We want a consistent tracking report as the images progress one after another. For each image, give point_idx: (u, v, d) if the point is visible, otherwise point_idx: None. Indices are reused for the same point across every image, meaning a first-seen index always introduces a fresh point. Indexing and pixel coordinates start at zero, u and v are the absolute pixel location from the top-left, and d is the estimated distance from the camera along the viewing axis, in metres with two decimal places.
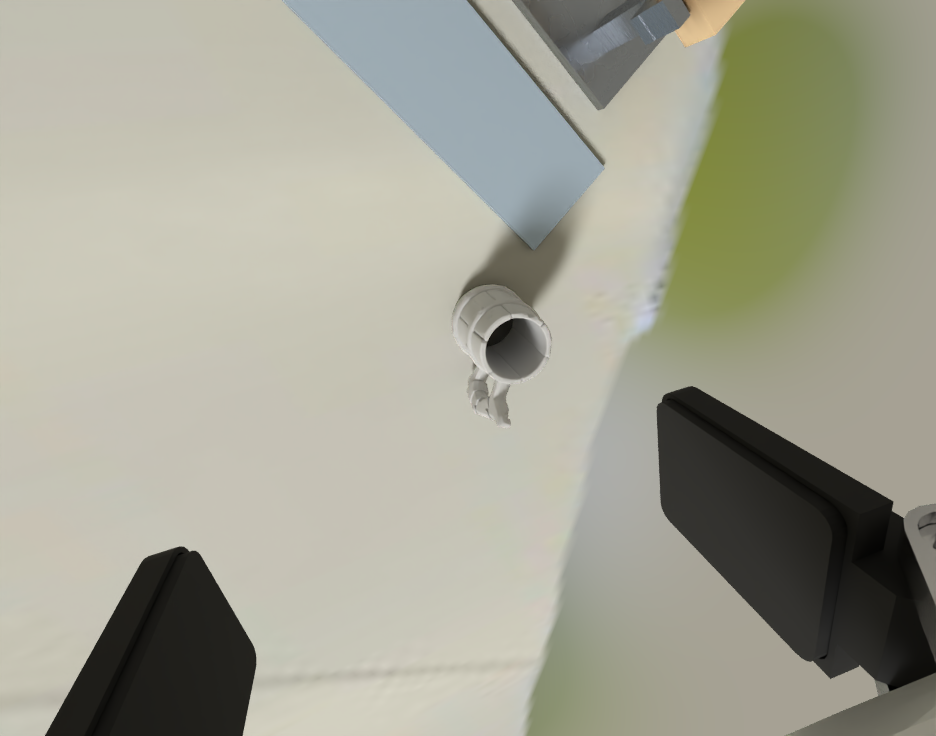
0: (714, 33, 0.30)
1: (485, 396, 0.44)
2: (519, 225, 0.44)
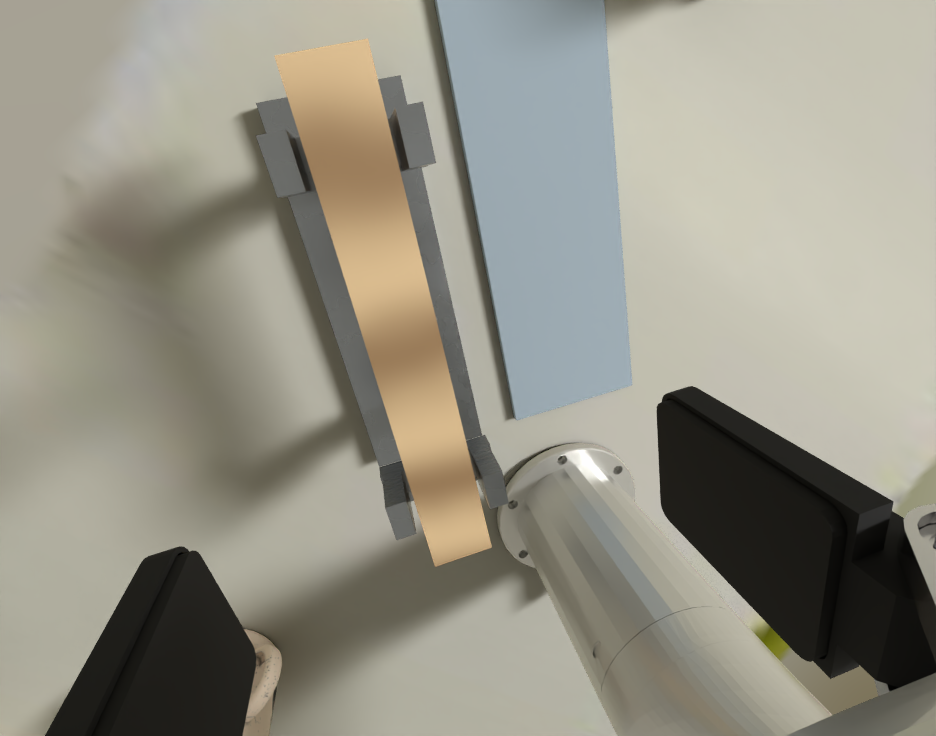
0: (368, 42, 0.15)
1: None
2: (595, 15, 0.28)
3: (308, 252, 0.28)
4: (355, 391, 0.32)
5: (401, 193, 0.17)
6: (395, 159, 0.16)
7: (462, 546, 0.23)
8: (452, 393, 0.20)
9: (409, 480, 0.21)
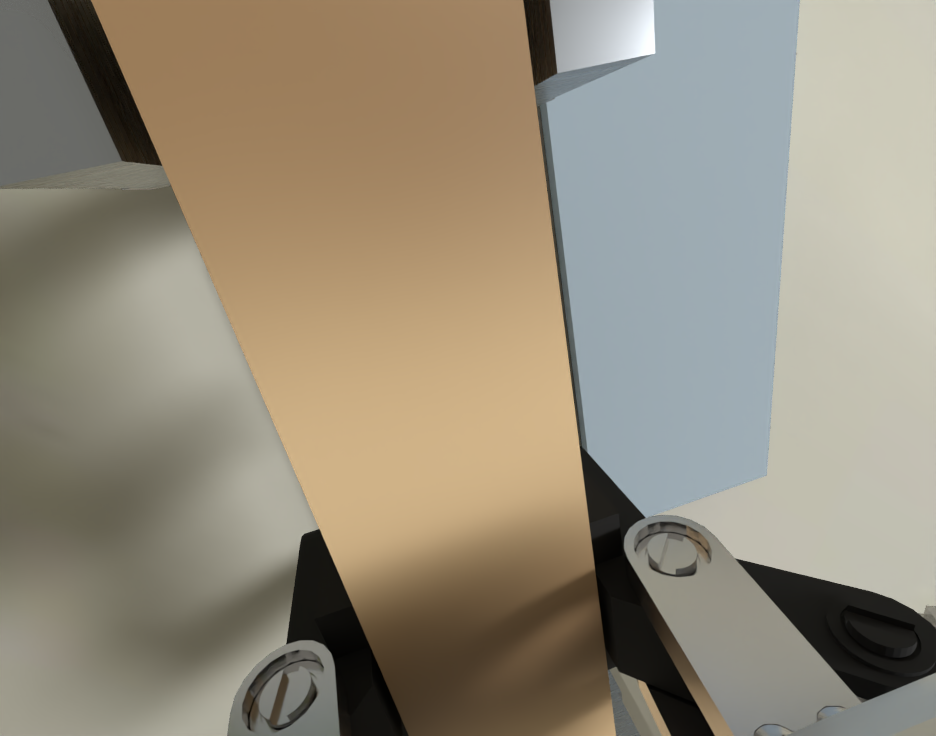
0: None
1: None
2: None
3: None
4: None
5: (528, 172, 0.04)
6: (518, 18, 0.04)
7: None
8: (609, 722, 0.07)
9: None
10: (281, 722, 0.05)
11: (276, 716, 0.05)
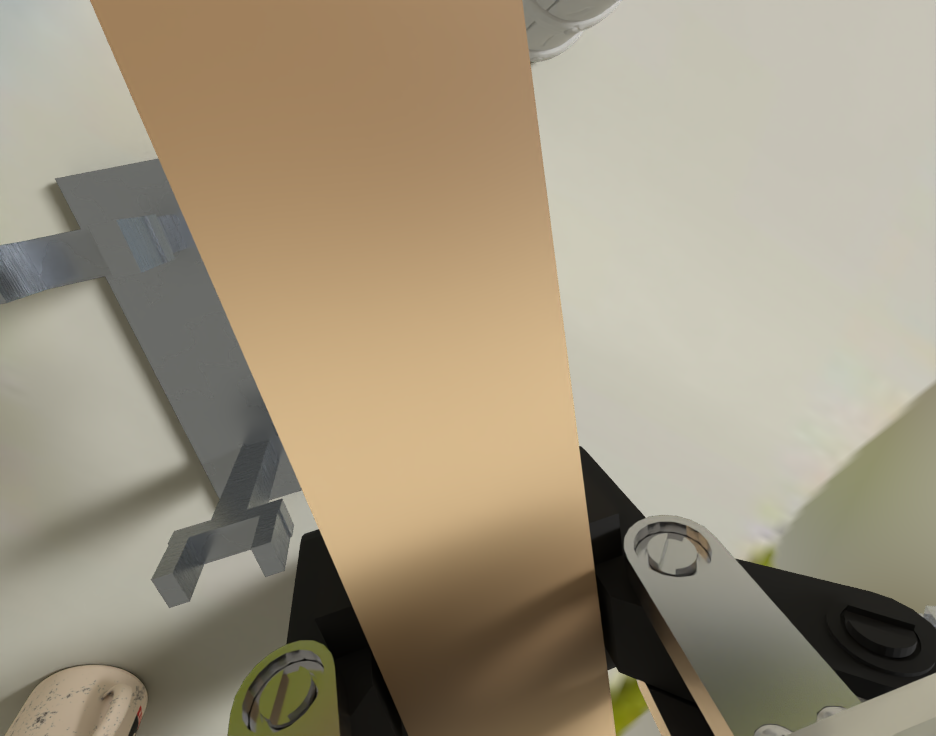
0: None
1: None
2: None
3: (127, 315, 0.29)
4: (192, 443, 0.33)
5: (526, 165, 0.04)
6: (516, 9, 0.04)
7: None
8: (609, 720, 0.07)
9: None
10: (281, 722, 0.05)
11: (276, 716, 0.05)
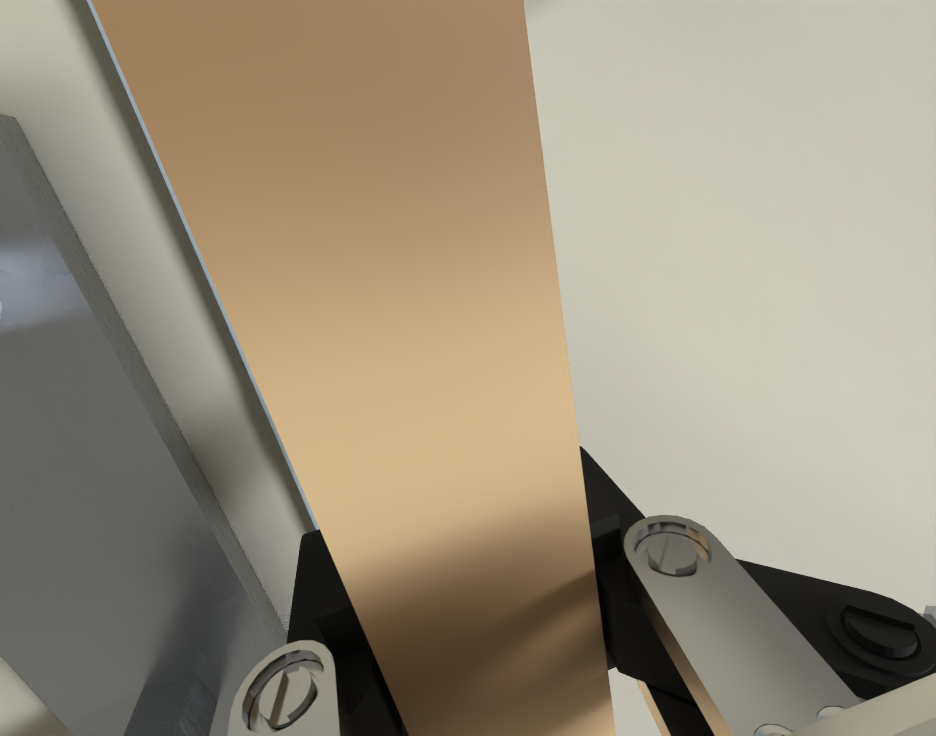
0: None
1: None
2: None
3: None
4: (41, 696, 0.17)
5: (526, 160, 0.04)
6: (516, 2, 0.04)
7: None
8: (609, 718, 0.07)
9: None
10: (281, 722, 0.05)
11: (276, 716, 0.05)
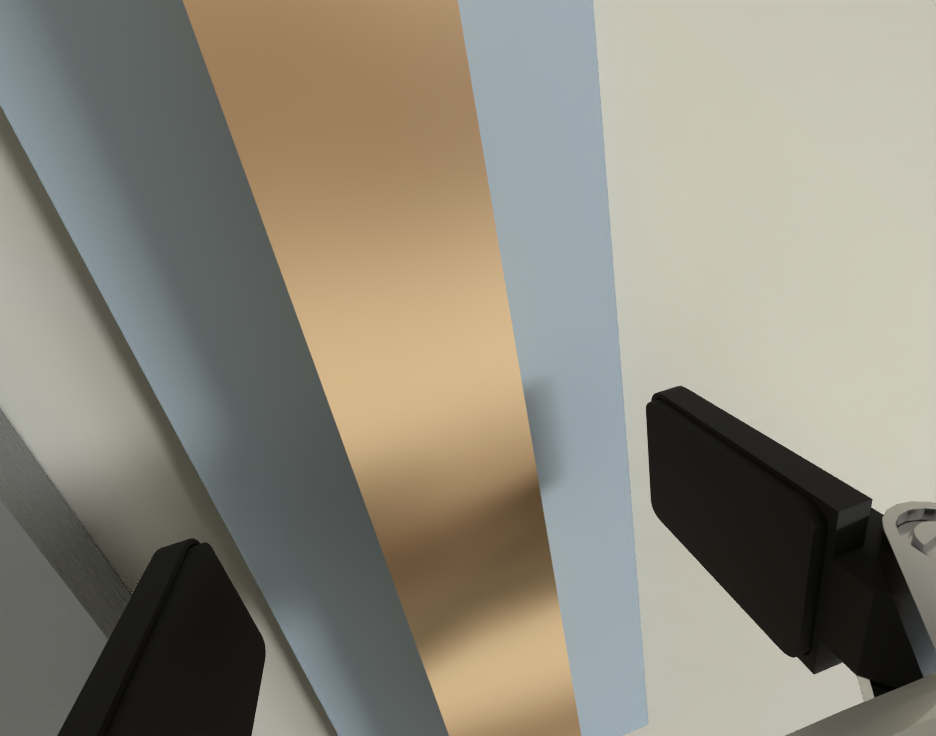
0: None
1: None
2: None
3: None
4: None
5: (475, 173, 0.06)
6: (465, 75, 0.06)
7: None
8: (554, 599, 0.10)
9: None
10: None
11: None
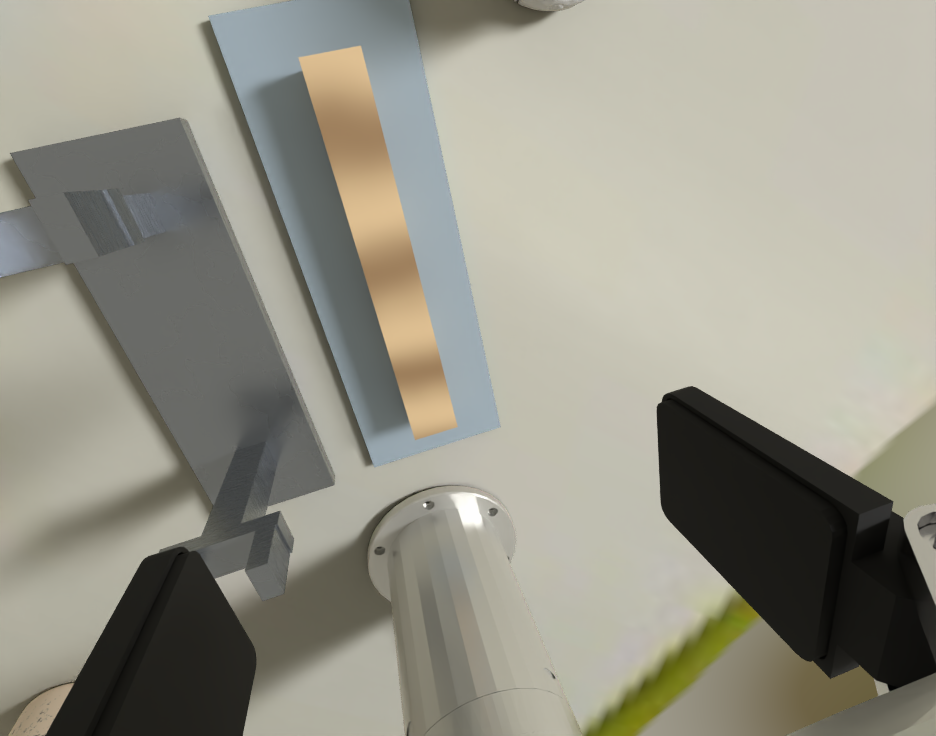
0: (361, 48, 0.22)
1: None
2: (406, 45, 0.25)
3: (101, 308, 0.26)
4: (181, 447, 0.30)
5: (385, 153, 0.24)
6: (380, 129, 0.24)
7: (435, 424, 0.31)
8: (424, 302, 0.28)
9: (394, 369, 0.29)
10: None
11: None
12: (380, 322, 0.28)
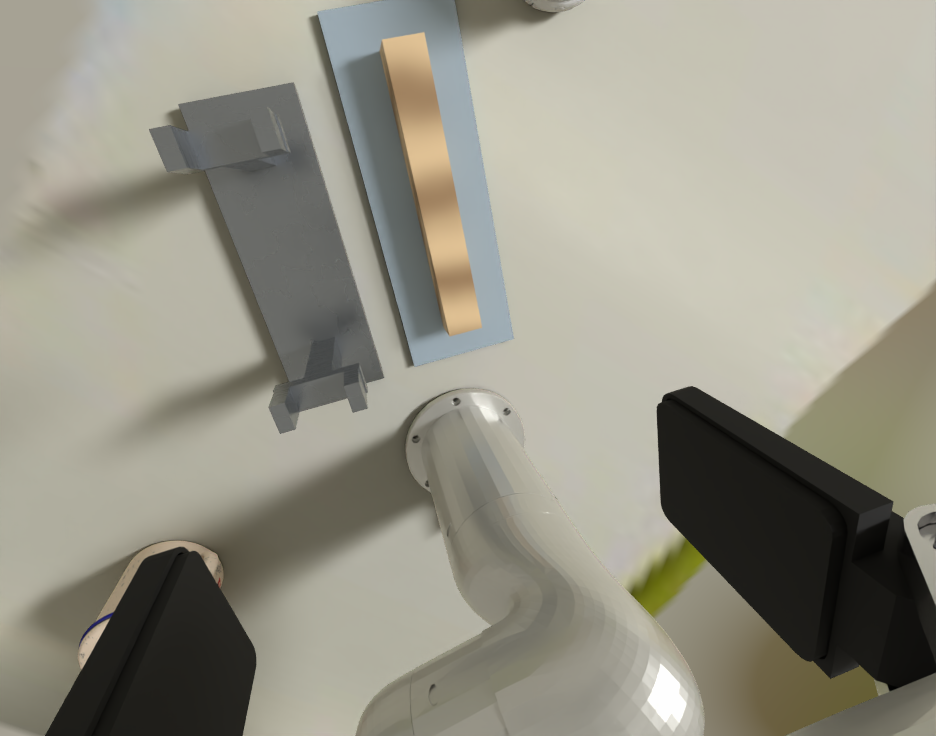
0: (424, 34, 0.32)
1: None
2: (452, 34, 0.35)
3: (227, 222, 0.36)
4: (273, 337, 0.39)
5: (437, 109, 0.34)
6: (435, 91, 0.34)
7: (465, 324, 0.40)
8: (461, 224, 0.37)
9: (436, 276, 0.38)
10: None
11: None
12: (428, 238, 0.37)
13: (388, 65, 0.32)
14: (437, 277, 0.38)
